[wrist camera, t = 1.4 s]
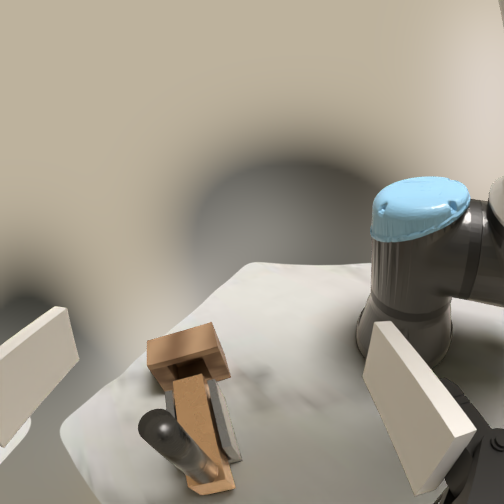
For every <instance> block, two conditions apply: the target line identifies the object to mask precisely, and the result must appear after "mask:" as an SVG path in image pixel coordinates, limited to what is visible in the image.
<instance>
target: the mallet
mask: <svg viewBox="0 0 504 504" xmlns="http://www.w3.org/2000/svg"><path fill="white" fill-rule="evenodd" d="M173 388H174V397H175V406H176V414H177V420H176V419H175V418H174V417H173V416H172V414H171V413H170V412H168V411H166V410H164V409H154V410H151V411H149V412H147V413H146V414H145V415H144V416H143V417H142V418H141V420H140V422H139V425H138V431H139V434H140V436H141V437H142V438H143V439H144V440H145V441H146V442H147V443H148V444H150V445H151V446H152V447H153V448H154V449H155V450H156V451H158V452H159V453H160V454H161V455H162V456H163V457H165V458H166V459H167V460H168V461H170V462H171V463H172V464H173V465H174V466H176V467H177V468H178V469H180V470H181V471H182V472H183V473H185V474H186V479H187V485H188V487H189V488H190V489H192V490H193V491H195V492H197V493H198V494H200V495H207V494H212V493H217V492H222V491H226V490H231V489H235V488H236V487H235V484H234V480H233V477H232V473H231V469H230V466H229V462H228V458H227V455H226V452H225V450H224V449H223V447H222V443H221V439H220V435H219V431H218V427H217V423H216V418H215V414H214V410H213V405H212V401H211V396H210V391H209V387H208V384H207V382H206V380H205V378H204V377H203V375H202V374H199V375H195V376H191V377H187V378H184V379H180V380H176V381H173Z"/></svg>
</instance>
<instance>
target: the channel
mask: <svg viewBox="0 0 504 504" xmlns="http://www.w3.org/2000/svg"><path fill="white" fill-rule="evenodd" d="M207 382H208V387H209V391H210V396H211V401H212V405H213V410H214V414H215V418H216V423H217V427H218V431H219V435H220V439H221V443H222V447H223V449H224V450H225V452H226V455H227V458H228V462H229V464H230V463H234V462H238V461H242V457H241V454H240V451H239V447H238V444H237V440H236V437H235V433H234V430H233V426H232V423H231V419H230V415H229V412H228V408H227V404H226V400H225V398H224V396H223V394H222V392H221V390H220V388H219V386H218V384H217V382H216V380H215V379H212V380H208V381H207ZM165 399H166V410H167V411H168V412H170V413H171V414H172V416H173V417H174V418H175V419H176V420H177V414H176V406H175V397H174V392H173V391H172V390H170V391H166V392H165Z"/></svg>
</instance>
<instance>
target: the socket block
mask: <svg viewBox="0 0 504 504" xmlns="http://www.w3.org/2000/svg"><path fill="white" fill-rule="evenodd" d="M147 367H148V368H149V370H150V371H151V373H152V374H153V375H154V377H155V378H156V380H157V381H158V383H159V384H160V386H161V387H162V388H163V390H164V391H165V392H166V391H170V390H172V391H173V392H174V388H173V381H176V380H180V379H184V378H187V377H191V376H195V375H199V374H202V375H203V377H204V378H205V380H206V382H207V381H208V380H212V379H215V380H216V381H220V380H223V379H227V378H230V377H231V376H230V372H229V369H228V365H227V362H226V358H225V354H224V352H223V349H222V347H221V344H220V342H219V339H218V337H217V334H216V332H215V329H214V327H213V324H212V322H210V323H207V324H204V325H200V326H197V327H194V328H190V329H187V330H184V331H180V332H177V333H173V334H170V335H166V336H163V337H159V338H156V339H152V340H148V341H147ZM207 384H208V382H207Z"/></svg>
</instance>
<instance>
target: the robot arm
mask: <svg viewBox="0 0 504 504" xmlns="http://www.w3.org/2000/svg"><path fill="white" fill-rule="evenodd" d="M499 5H500V10H501V15H502V20H503V26H504V0H499ZM370 232H371V237H372V267H371V293H370V295H369V298H368V300H367V303H366V306H365V308H364V309H363V310H362V312H361V314H360V316H359V319H358V323H357V335H356V338H357V345H358V348H359V350H360V352H361V354H362V355H363V356H364V358H365V359H366V364H365V368H364V372H363V376H362V377H363V379H364V382H365V384H366V386H367V388H368V390H369V392H370V394H371V397H372V399H373V401H374V403H375V405H376V407H377V410H378V412H379V414H380V416H381V418H382V421H383V423H384V425H385V427H386V429H387V432H388V434H389V436H390V438H391V441H392V443H393V445H394V448H395V450H396V452H397V455H398V457H399V459H400V462H401V464H402V466H403V469H404V471H405V473H406V476H407V478H408V481H409V483H410V486H411V488H412V490H413V493H414V495H415V496H417V495H421V494H424V493H427V492H430V491H433V490H436V489H437V487H438V486H439V485H440V484H441V482H442V481H443V480H444V479H445V481H446V483H447V485H448V486H447V488H446V489H445V490H444V491H443V493H442V494H441V495H440V496H439V497H438V498H437V500H436V501H435V503H434V504H438V502H439V501H440V503H439V504H504V429H499V428H495V429H491V428H490V426H489V425H488V424H487V422H486V421H485V420H484V419H483V417H482V416H481V415H480V413H479V412H478V411H477V410H476V408H475V407H474V406H473V405H472V403H470V401H469V400H468V398H467V397H466V396H464V393H463V392H462V391H461V390H460V389H459V387H458V386H457V385H456V384H454V383H453V382H451V381H450V380H448V379H447V378H442V379H438V377H437V376H436V375H435V374H434V372H433V371H432V370H431V368H433V367H434V366H436V365H437V364H438V363H439V362H440V361H441V360H442V359H443V358H444V356H445V355H446V353H447V351H448V348H449V345H450V342H451V339H452V333H453V327H452V321H451V304H450V303H451V300H452V297H454V298H459V299H465V300H470V301H475V302H479V303H484V304H489V305H494V306H499V307H504V176H502V177H500V178H498V179H497V180H496V181H495V182H494V183H493V184H492V186H491V188H490V192H489V198H488V201H481V200H475V199H470V195H469V192H468V189H467V188H466V186H465V185H464V184H462V183H460V182H458V181H456V180H450V179H448V178H443V177H416V178H410V179H405V180H401V181H398V182H395V183H393V184H390V185H389V186H387V187H385V188H384V189H382V190H381V191H380V192H379V193H378V194H377V196H376V198H375V199H374V202H373V210H372V225H371V228H370ZM78 361H79V356H78V353H77V349H76V345H75V341H74V337H73V333H72V329H71V324H70V320H69V315H68V310H67V308H63V307H57V306H55V307H53V308H52V309H50V310H49V311H47V312H46V313H45V314H43V315H42V316H40V317H39V318H38V319H36V320H35V321H34V322H32V323H31V324H29V325H28V326H26V327H25V328H24V329H22V330H21V331H20V332H19V333H17V334H16V335H14V336H13V337H12V338H10V339H9V340H8V341H6V342H5V343H4V344H2V345H1V346H0V446H1V447H3V448H5V446H6V445H7V444H8V443H9V441H10V440H11V439H12V438H13V436H14V435H15V434H16V433H17V431H18V430H19V429H20V428H21V427H22V425H23V424H24V423H25V422H26V421H27V419H28V418H29V417H30V416H31V415H32V413H33V412H34V411H35V410H36V409H37V407H38V406H39V405H40V404H41V403H42V402H43V400H44V399H45V398H46V397H47V396H48V395H49V393H50V392H51V391H52V390H53V389H54V388H55V386H56V385H57V384H58V383H59V382H60V381H61V380H62V379H63V378H64V376H65V375H66V374H67V373H68V372H69V371H70V370H71V369H72V367H73V366H74V365H75V364H76V363H77V362H78Z"/></svg>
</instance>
